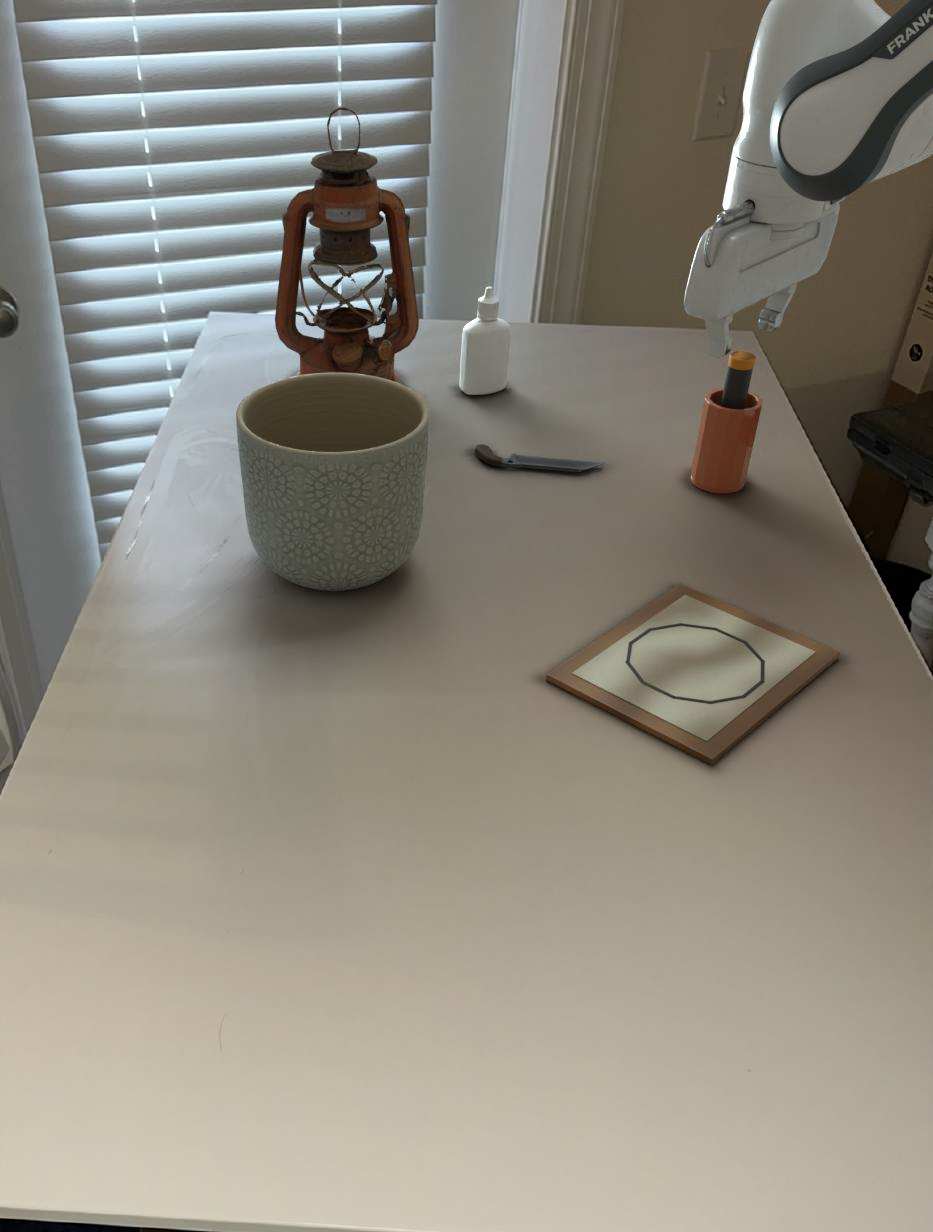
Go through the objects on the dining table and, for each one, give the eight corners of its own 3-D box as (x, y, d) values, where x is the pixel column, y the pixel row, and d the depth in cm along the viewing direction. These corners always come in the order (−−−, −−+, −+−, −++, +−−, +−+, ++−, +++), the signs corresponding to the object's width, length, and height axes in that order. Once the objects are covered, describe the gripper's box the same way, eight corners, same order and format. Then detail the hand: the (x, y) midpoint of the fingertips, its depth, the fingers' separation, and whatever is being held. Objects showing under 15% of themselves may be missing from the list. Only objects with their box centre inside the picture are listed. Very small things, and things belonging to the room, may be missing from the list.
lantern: (274, 405, 146) (261, 123, 127) (280, 361, 156) (270, 94, 137) (418, 405, 146) (427, 123, 126) (415, 362, 156) (424, 94, 136)
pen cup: (755, 480, 131) (773, 398, 125) (725, 499, 128) (743, 416, 122) (708, 463, 134) (724, 383, 128) (679, 481, 131) (694, 399, 125)
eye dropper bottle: (460, 380, 151) (465, 280, 143) (506, 383, 151) (514, 282, 143) (458, 395, 148) (463, 293, 140) (505, 397, 147) (513, 295, 140)
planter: (237, 610, 112) (225, 453, 102) (254, 519, 125) (245, 371, 115) (424, 613, 112) (431, 454, 102) (422, 521, 125) (427, 372, 115)
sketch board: (838, 658, 106) (841, 650, 106) (711, 765, 95) (713, 757, 95) (678, 588, 115) (680, 581, 114) (545, 679, 104) (546, 672, 104)
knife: (471, 465, 134) (471, 459, 133) (476, 449, 137) (476, 443, 136) (602, 477, 132) (603, 471, 131) (604, 460, 134) (605, 454, 134)
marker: (734, 476, 131) (760, 355, 122) (722, 484, 129) (747, 362, 121) (714, 469, 132) (738, 348, 124) (701, 476, 131) (724, 355, 122)
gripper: (745, 223, 105) (714, 381, 114) (860, 175, 116) (823, 323, 125) (682, 207, 108) (655, 362, 117) (799, 162, 120) (767, 307, 129)
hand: (743, 341), depth 121 cm, fingers open, 8 cm apart
